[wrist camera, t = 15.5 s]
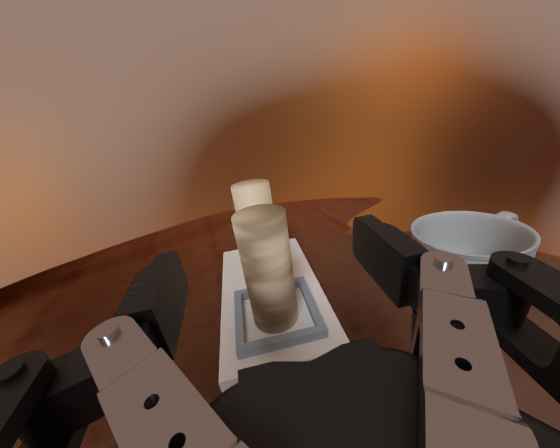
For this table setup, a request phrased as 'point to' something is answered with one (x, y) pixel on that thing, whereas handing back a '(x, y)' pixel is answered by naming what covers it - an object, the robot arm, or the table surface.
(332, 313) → the board
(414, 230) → the teacup
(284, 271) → the maple post
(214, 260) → the table surface
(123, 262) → the table surface
